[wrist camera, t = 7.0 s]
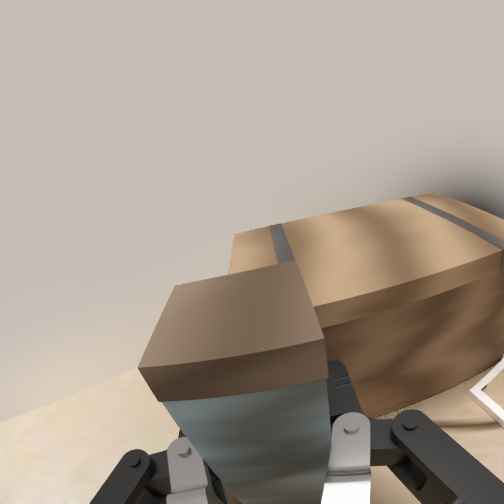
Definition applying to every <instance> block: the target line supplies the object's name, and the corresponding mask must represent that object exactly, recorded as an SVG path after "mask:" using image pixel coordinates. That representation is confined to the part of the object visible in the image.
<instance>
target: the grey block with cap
mask: <svg viewBox="0 0 504 504" xmlns="http://www.w3.org/2000/svg"><path fill="white" fill-rule="evenodd" d="M138 369H139V371H140V373H141V374H142V376H143V378H144V379H145V381H146V382H147V384H148V386H149V387H150V389H151V390H152V392H153V394H154V395H155V397H156V398H157V400H158V401H159V402H162V403H163V404H164V406H165V407H166V409H167V410H168V412H169V413H170V415H171V416H172V418H173V419H174V421H175V422H176V423H177V425H178V426H179V428H180V429H181V431H182V432H183V433H184V435H185V436H186V437H187V439H188V440H189V441H190V443H191V444H192V445H193V447H194V448H195V449H196V451H197V452H198V453H199V455H200V456H201V457H202V458H203V460H204V461H205V462H206V463H207V465H208V466H209V467H210V468H211V469H212V471H213V472H214V473H215V474H216V475H217V477H218V478H219V479H220V480H221V481H222V482H223V484H224V485H225V486H226V487H227V488H228V489H229V490H230V491H231V493H232V494H233V495H234V496H235V497H236V498H237V499H238V500H239V501H240V502H241V503H242V504H321V502H322V496H323V490H324V483H325V477H326V474H327V471H328V465H329V456H330V448H331V443H332V440H331V426H330V414H329V402H328V391H327V381H326V378H329V376H328V366H327V356H326V347H325V338H324V335H323V333H322V330H321V327H320V324H319V321H318V319H317V316H316V313H315V310H314V308H313V305H312V302H311V299H310V297H309V294H308V291H307V289H306V286H305V283H304V281H303V278H302V275H301V273H300V270H299V267H298V265H297V262H296V260H294V261H290V262H285V263H281V264H276V265H272V266H267V267H262V268H258V269H253V270H248V271H244V272H239V273H234V274H230V275H225V276H220V277H215V278H211V279H206V280H201V281H196V282H191V283H186V284H182V285H176V286H175V287H174V289H173V291H172V293H171V295H170V297H169V300H168V302H167V304H166V306H165V308H164V310H163V312H162V314H161V317H160V319H159V321H158V323H157V325H156V327H155V330H154V332H153V334H152V336H151V339H150V341H149V343H148V345H147V348H146V350H145V352H144V354H143V357H142V359H141V361H140V364H139V366H138Z"/></svg>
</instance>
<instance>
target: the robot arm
mask: <svg viewBox="0 0 504 504" xmlns="http://www.w3.org/2000/svg"><path fill="white" fill-rule="evenodd" d="M327 366H328V376H329V378H326V381H327V391H328V402H329V414H330V426H331V440H332V443H331V448H330V456H329V465H328V471H327V474H326V477H325V483H324V490H323V496H322V502H321V504H369V500H370V483H371V471H370V466H388V468H389V469H390V470H391V471H392V472H393V473H394V474H395V475H396V476H397V478H398V479H399V480H400V481H401V482H402V483H403V484H404V485H405V486H406V487H407V488H408V490H409V491H410V492H411V493H412V494H413V495H414V496H415V497H416V498H417V499H418V500H419V501H420V502H421V503H422V504H504V483H503V482H502V481H501V480H500V479H499V478H497V477H496V476H495V475H494V474H493V473H492V472H490V471H489V470H488V469H487V468H486V467H485V466H483V465H482V464H481V463H480V462H479V461H478V460H476V459H475V458H474V457H473V456H472V455H471V454H470V453H468V452H467V451H466V450H465V449H464V448H463V447H461V446H460V445H459V444H458V443H457V442H456V441H455V440H453V439H452V438H451V437H450V436H449V435H448V434H446V433H445V432H444V431H443V430H442V429H441V428H440V427H438V426H437V425H436V424H435V423H434V422H433V421H432V420H430V419H429V418H428V417H427V416H426V415H425V414H423V413H422V412H420V411H418V410H406V411H403V412H401V413H399V414H398V415H397V416H396V417H395V418H394V419H383V420H378V419H373V418H370V417H368V416H367V415H366V414H365V413H364V412H363V411H362V409H361V406H360V404H359V401H358V398H357V395H356V393H355V390H354V387H353V385H352V382H351V379H350V377H349V374H348V371H347V369H346V366H345V365H344V364H343V363H341V362H340V361H339V360H338V359H337V360H333V361H329V362H327ZM90 504H230V502H229V499H228V495H227V492H226V489H225V485H224V484H223V482H222V481H221V480H220V479H219V478H218V477H217V475H216V474H215V473H214V472H213V471H212V469H211V468H210V467H209V466H208V465H207V463H206V462H205V461H204V460H203V458H202V457H201V456H200V455H199V453H198V452H197V451H196V449H195V448H194V447H193V445H192V444H191V443H190V441H189V440H188V439H187V437H186V436H185V435H184V433H183V432H182V431H181V429H180V432H179V437H178V439H176V440H174V441H173V442H172V443H171V444H170V445H169V447H168V450H165V451H162V452H159V453H155V454H151V455H148V454H147V453H146V452H145V451H143V450H140V449H135V450H131V451H129V452H127V453H126V454H125V455H124V456H123V457H122V459H121V460H120V461H119V463H118V464H117V466H116V467H115V468H114V470H113V471H112V473H111V474H110V476H109V477H108V478H107V480H106V481H105V483H104V484H103V485H102V487H101V488H100V490H99V491H98V492H97V494H96V495H95V497H94V498H93V499H92V501H91V502H90Z"/></svg>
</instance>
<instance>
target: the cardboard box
mask: <svg viewBox="0 0 504 504" xmlns="http://www.w3.org/2000/svg"><path fill="white" fill-rule="evenodd" d="M294 260H296V262H297V265H298V267H299V270H300V273H301V275H302V278H303V281H304V283H305V286H306V289H307V291H308V294H309V297H310V299H311V302H312V305H313V308H314V310H315V313H316V316H317V319H318V321H319V324H320V327H321V330H322V333H323V335H324V338H325V347H326V356H327V362H329V361H333V360H337V359H338V360H339V361H340V362H341V363H343V364H344V365H345V366H346V369H347V371H348V374H349V377H350V379H351V382H352V385H353V387H354V390H355V393H356V395H357V398H358V401H359V404H360V406H361V409H362V411H363V412H364V413H365V414H366V415H367V416H368V417H370V418H374V417H378V416H381V415H384V414H387V413H390V412H392V411H395V410H398V409H401V408H404V407H406V406H409V405H411V404H414V403H417V402H419V401H421V400H424V399H426V398H429V397H431V396H433V395H436V394H438V393H440V392H442V391H445V390H447V389H449V388H451V387H453V386H455V385H457V384H459V383H461V382H463V381H465V380H467V379H469V378H471V377H473V376H475V375H477V374H479V373H481V372H482V371H484V370H486V369H488V368H490V367H491V366H493V365H495V364H496V363H498V362H500V361H501V359H502V356H503V353H504V220H503V219H501V218H499V217H496V216H494V215H492V214H489V213H487V212H485V211H482V210H480V209H477V208H475V207H473V206H470V205H468V204H465V203H463V202H460V201H457V200H455V199H452V198H449V197H447V196H444V195H441V194H438V193H430V194H424V195H419V196H414V197H407V198H402V199H398V200H393V201H388V202H383V203H378V204H373V205H368V206H364V207H358V208H353V209H349V210H343V211H339V212H334V213H329V214H324V215H319V216H315V217H310V218H305V219H301V220H296V221H291V222H287V223H283V224H276V225H271V226H268V227H264V228H259V229H255V230H251V231H246V232H242V233H237V234H234V240H233V246H232V252H231V260H230V266H229V273H228V275H230V274H234V273H239V272H244V271H248V270H253V269H258V268H262V267H267V266H272V265H276V264H281V263H285V262H290V261H294ZM225 489H226V492H227V495H228V499H229V502H230V504H242V503H241V502H240V501H239V500H238V499H237V498H236V497H235V496H234V495H233V494H232V493H231V491H230V490H229V489H228V488H227V487H226V486H225Z"/></svg>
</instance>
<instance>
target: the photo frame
mask: <svg viewBox="0 0 504 504" xmlns="http://www.w3.org/2000/svg"><path fill="white" fill-rule="evenodd" d="M503 370H504V358H503V359H502V360H501V361H500V362H499V363H498V364H497V365H496V366H495V367H494V368H493V369H492V370H491V371H490V372H489V373H488V374H487V375H486V376H485V377H483V378H482V379H481V380H480V381H479V382H478V383H477V384H476V385H475V386H474V387H472V388H471V389H470V390H469V392H468V396H469V397H471V398H472V399H473V400H474V401H475V402H476V403H477V404H478V405H479V406H481V407H482V408H483V409H484V410H485V411H486V412H487V413H488V414H489V415H490V416H491V417H493V418H494V419H495V420H496V421H497V422H498V423H499V424H500V425H501V426H502V427H503V428H504V410H503V409H502V408H501V407H500V406H499V405H498V404H497V403H495V402H494V401H493V400H492V399H491V398H490V397H488V396H487V395H486V394H485V393H484V392H483V391H481V389H482V388H483V387H484V386H485V385H486V384H487V386H488V385H489V384H490V383H491V382H492V381H493V380H494V379H495V378H496V377H497V376H498V375H499V374H500V373H501V372H502V371H503Z"/></svg>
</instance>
